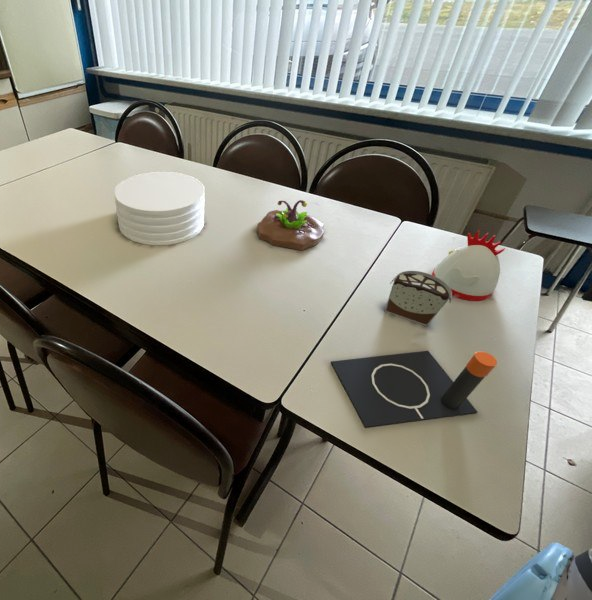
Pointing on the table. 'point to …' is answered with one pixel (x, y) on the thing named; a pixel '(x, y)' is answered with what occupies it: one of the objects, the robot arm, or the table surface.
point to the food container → (417, 296)
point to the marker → (468, 379)
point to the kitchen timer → (471, 269)
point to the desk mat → (397, 388)
